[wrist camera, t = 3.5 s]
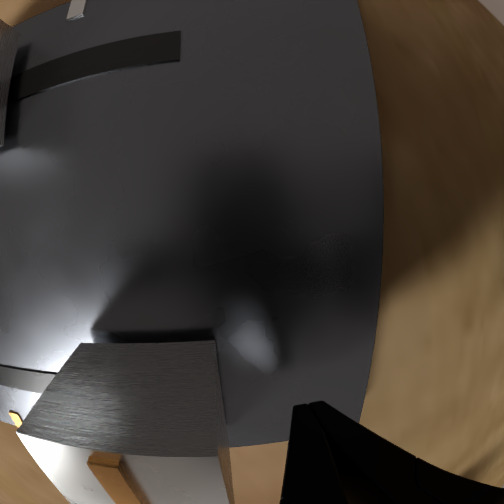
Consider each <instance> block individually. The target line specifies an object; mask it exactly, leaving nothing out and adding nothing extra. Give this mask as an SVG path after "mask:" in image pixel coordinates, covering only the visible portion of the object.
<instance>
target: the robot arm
mask: <svg viewBox="0 0 504 504" xmlns="http://www.w3.org/2000/svg"><path fill="white" fill-rule="evenodd" d="M280 504H504V488H499V487H495V486H491V485H487V484H484V483H480V482H477V481H474V480H470V479H467V478H464V477H461V476H458V475H455V474H453V473H450V472H447V471H445V470H443V469H440V468H438V467H436V466H434V465H432V464H430V463H428V462H426V461H424V460H422V459H420V458H416V456H414V455H412V454H411V453H409V452H407V451H405V450H403V449H401V448H400V447H398V446H396V445H394V444H393V443H391V442H389V441H387V440H386V439H384V438H382V437H381V436H379V435H377V434H375V433H374V432H372V431H370V430H369V429H367V428H366V427H364V426H362V425H361V424H359V423H357V422H356V421H354V420H353V419H351V418H349V417H348V416H346V415H345V414H343V413H342V412H340V411H338V410H337V409H335V408H334V407H332V406H331V405H329V404H328V403H326V402H325V401H322V400H320V401H315V402H310V403H309V404H306V403H304V404H299V405H294V406H293V408H292V417H291V425H290V434H289V442H288V450H287V458H286V465H285V472H284V479H283V486H282V492H281V500H280Z"/></svg>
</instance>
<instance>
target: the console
mask: <svg viewBox="0 0 504 504" xmlns="http://www.w3.org/2000/svg"><path fill="white" fill-rule="evenodd" d="M12 28H13V29H15V30H16V31H17V32H19V33H20V34H21V37H20V40H19V44H18V48H17V52H16V56H15V61H14V66H13V70H12V76H11V81H10V87H9V94H8V101H7V109H6V119H5V131H4V146H1V147H0V421H3V422H6V423H9V424H12V425H16V426H17V427H20V425H21V424H22V422H23V421H24V419H25V418H26V416H27V415H28V413H29V412H30V410H31V409H32V407H33V406H34V405H35V403H36V402H37V400H38V399H39V397H40V396H41V395H42V393H43V392H44V390H45V389H46V388H47V386H48V385H49V384H50V382H51V381H52V380H53V378H54V377H55V375H56V374H57V373H58V371H59V370H60V369H61V367H62V366H63V365H64V364H65V362H66V361H67V360H68V358H69V357H70V356H71V354H72V353H73V352H74V351H75V349H76V348H77V347H78V346H79V344H80V343H170V342H192V341H209V340H215V345H216V354H217V362H218V370H219V377H220V385H221V392H222V399H223V406H224V413H225V420H226V426H227V433H228V439H229V447H241V446H251V445H260V444H268V443H275V442H282V441H288V440H289V434H290V425H291V417H292V408H293V406H294V405H299V404H304V403H306V404H309V403H310V402H315V401H320V400H322V401H325V402H326V403H328V404H329V405H331V406H332V407H334V408H335V409H337V410H338V411H340V412H342V413H343V414H345V415H346V416H348V417H349V418H351V419H353V420H354V421H356V422H357V423H359V421H360V416H361V412H362V408H363V403H364V398H365V393H366V388H367V383H368V378H369V372H370V367H371V361H372V355H373V348H374V341H375V334H376V326H377V318H378V308H379V298H380V287H381V273H382V256H383V221H384V202H383V168H382V150H381V137H380V126H379V116H378V107H377V99H376V92H375V85H374V78H373V72H372V66H371V60H370V55H369V50H368V45H367V40H366V35H365V31H364V26H363V22H362V18H361V14H360V10H359V6H358V2H357V0H71V2H68V3H65V4H63V5H60V6H58V7H55V8H53V9H50V10H48V11H45V12H43V13H41V14H39V15H36V16H34V17H32V18H30V19H28V20H26V21H24V22H22V23H20V24H18V25H16V26H14V27H12Z"/></svg>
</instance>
